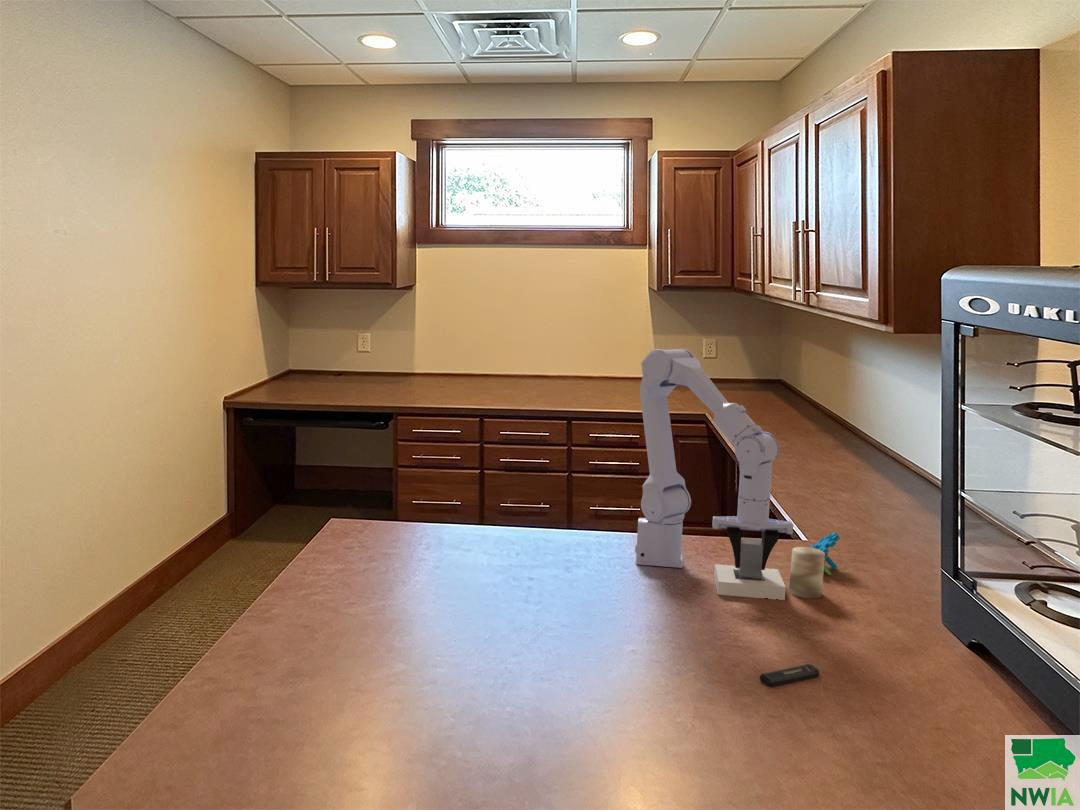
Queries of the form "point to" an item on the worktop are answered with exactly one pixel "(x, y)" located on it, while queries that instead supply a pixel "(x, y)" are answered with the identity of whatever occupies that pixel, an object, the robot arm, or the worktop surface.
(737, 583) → the socket block
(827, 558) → the gear
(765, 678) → the usb stick
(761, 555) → the square peg
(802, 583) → the round peg
